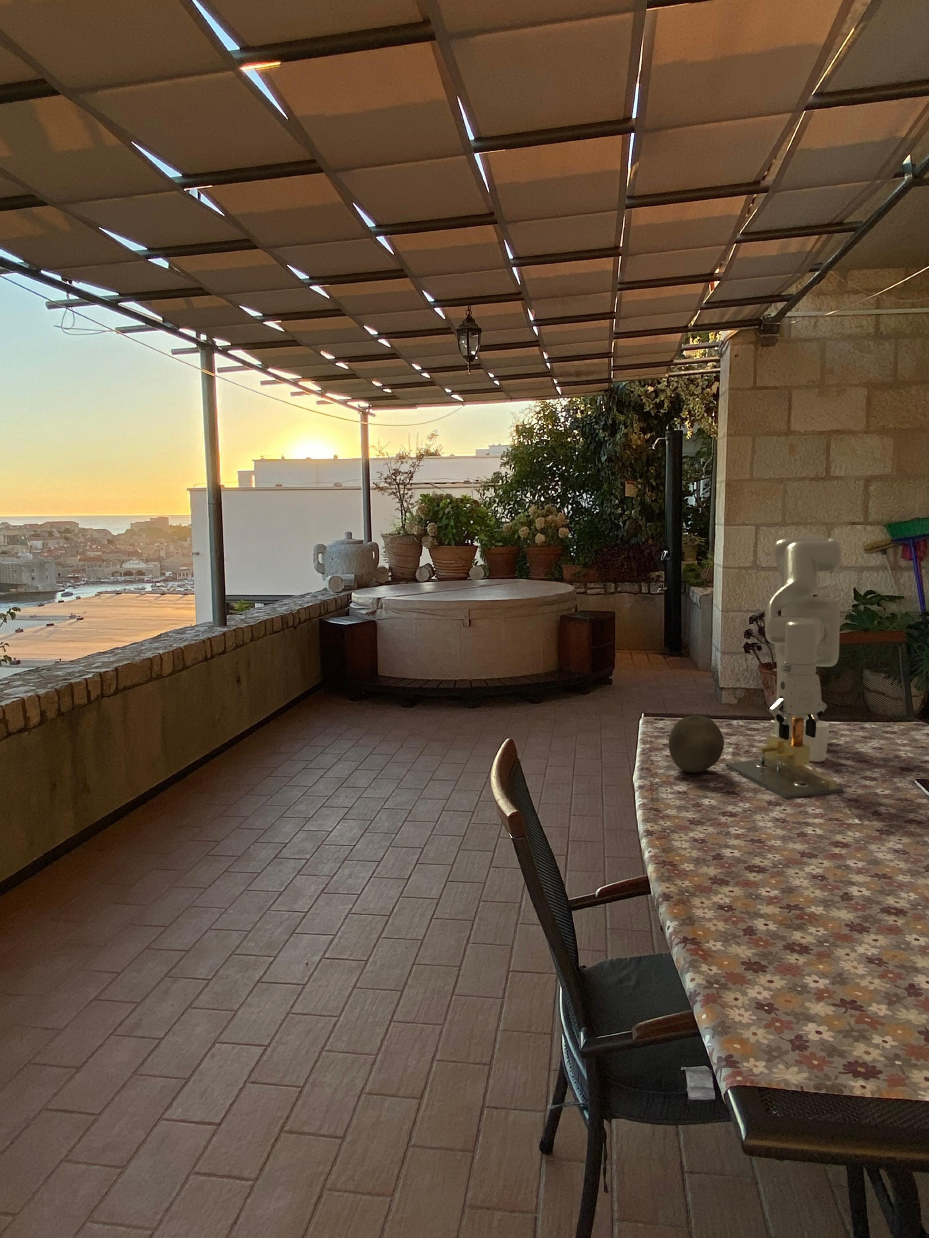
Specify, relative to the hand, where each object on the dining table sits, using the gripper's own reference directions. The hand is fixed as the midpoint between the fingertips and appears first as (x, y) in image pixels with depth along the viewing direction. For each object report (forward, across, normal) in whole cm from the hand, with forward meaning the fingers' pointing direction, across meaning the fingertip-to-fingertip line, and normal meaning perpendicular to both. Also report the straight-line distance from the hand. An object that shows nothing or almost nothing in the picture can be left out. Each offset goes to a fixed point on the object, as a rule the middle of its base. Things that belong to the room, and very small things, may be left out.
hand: (797, 736), depth 213 cm
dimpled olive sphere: (+11, -23, +10) cm, 27 cm away
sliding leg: (+9, -2, 0) cm, 9 cm away
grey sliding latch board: (+10, -5, -1) cm, 11 cm away
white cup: (+11, +14, +12) cm, 21 cm away
